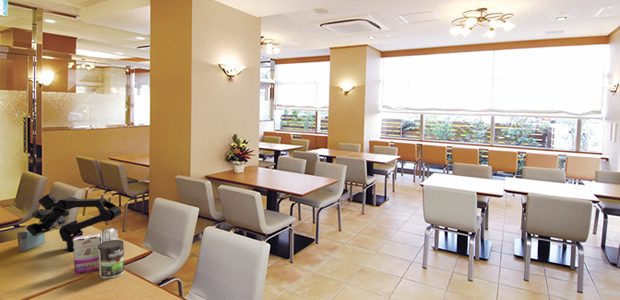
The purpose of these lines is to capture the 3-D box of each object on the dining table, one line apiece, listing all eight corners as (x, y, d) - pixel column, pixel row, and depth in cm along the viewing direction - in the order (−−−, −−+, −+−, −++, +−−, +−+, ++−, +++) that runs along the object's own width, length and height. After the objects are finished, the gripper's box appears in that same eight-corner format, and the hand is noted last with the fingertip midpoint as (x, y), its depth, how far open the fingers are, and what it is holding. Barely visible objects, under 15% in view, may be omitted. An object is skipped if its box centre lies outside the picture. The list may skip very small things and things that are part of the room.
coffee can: (129, 271, 164) (128, 242, 162) (107, 280, 155) (105, 250, 153) (116, 266, 169) (115, 238, 167) (94, 274, 160) (92, 245, 158)
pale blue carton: (46, 242, 195) (45, 224, 193) (24, 252, 181) (22, 233, 180) (39, 242, 195) (38, 224, 194) (16, 252, 182) (15, 232, 181)
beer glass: (122, 258, 178) (120, 229, 176) (109, 263, 171) (107, 233, 170) (112, 255, 181) (111, 227, 179) (99, 260, 174) (98, 231, 172)
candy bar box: (103, 265, 169) (101, 232, 167) (103, 269, 165) (101, 236, 163) (76, 270, 164) (73, 236, 162) (74, 274, 160) (72, 240, 158)
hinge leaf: (45, 242, 194) (44, 225, 193) (24, 252, 181) (22, 233, 180) (41, 242, 194) (40, 225, 193) (20, 251, 182) (18, 233, 180)
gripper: (58, 200, 194) (41, 218, 197) (27, 210, 176) (10, 230, 178) (72, 214, 194) (55, 232, 197) (43, 226, 176) (25, 245, 178)
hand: (37, 234), depth 187 cm, fingers closed
